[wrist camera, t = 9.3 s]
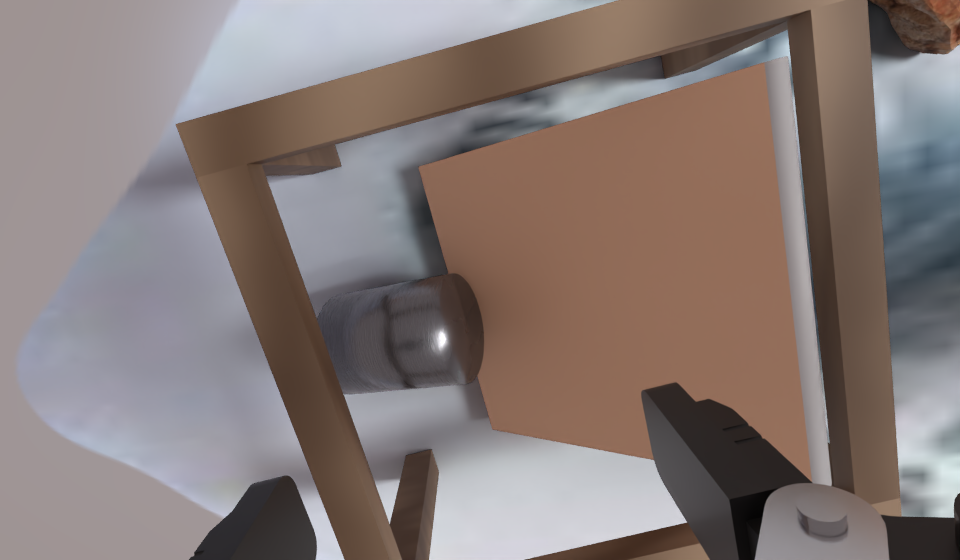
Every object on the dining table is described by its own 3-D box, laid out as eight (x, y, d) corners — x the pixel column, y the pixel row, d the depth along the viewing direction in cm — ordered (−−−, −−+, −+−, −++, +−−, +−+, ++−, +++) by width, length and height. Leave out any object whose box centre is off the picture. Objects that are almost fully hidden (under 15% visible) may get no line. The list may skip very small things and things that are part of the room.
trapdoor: (789, 56, 14) (785, 55, 13) (832, 474, 17) (831, 493, 16) (432, 163, 23) (418, 166, 22) (502, 419, 26) (492, 429, 25)
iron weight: (422, 295, 18) (299, 317, 20) (457, 406, 19) (337, 415, 21) (465, 259, 22) (360, 280, 24) (492, 352, 23) (389, 363, 26)
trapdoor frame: (691, 36, 22) (862, -69, 12) (743, 399, 26) (902, 534, 17) (302, 143, 23) (175, 124, 13) (413, 478, 27) (380, 650, 17)
